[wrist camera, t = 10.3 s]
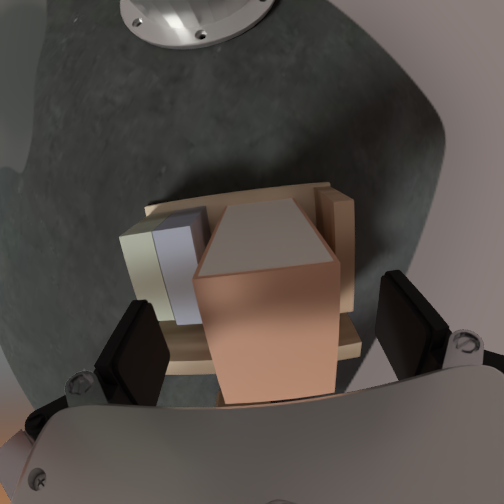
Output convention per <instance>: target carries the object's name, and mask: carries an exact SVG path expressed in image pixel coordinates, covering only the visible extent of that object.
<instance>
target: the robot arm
mask: <svg viewBox="0 0 504 504" xmlns="http://www.w3.org/2000/svg"><path fill="white" fill-rule="evenodd" d="M261 1H265V2H261ZM274 2H275V0H120V11H121V16H122V18H123V20H124V23H125V24H126V26H127V27H128V28H129V29H130V30H131V32H133V33H134V34H135V35H136V36H138V37H139V38H140V39H142V40H144V41H146V42H148V43H149V44H152V45H156V46H159V47H162V48H170V49H196V48H202V47H208V46H212V45H215V44H219V43H222V42H225V41H227V40H230V39H232V38H234V37H237V36H239V35H241V34H242V33H244V32H245V31H247V30H249V29H250V28H252V27H253V26H254V25H256V24H257V23H258V22H259V21H260V20H262V19H263V18H264V16H265V15H266V14H267V13H268V12H269V10H270V9H271V8H272V6H273V4H274ZM202 36H205V38H204V39H202V40H200V38H201V37H202ZM375 334H376V337H377V339H378V341H379V342H380V344H381V346H382V348H383V350H384V352H385V354H386V356H387V358H388V360H389V362H390V364H391V366H392V368H393V370H394V372H395V374H396V376H397V378H398V380H399V381H396V382H392V383H388V384H384V385H380V386H375V387H371V388H366V389H362V390H358V391H352V392H347V393H342V394H337V395H331V396H325V397H319V398H312V399H306V400H298V401H290V402H282V403H272V404H261V405H248V406H230V407H158V406H156V404H157V401H158V397H159V394H160V391H161V387H162V384H163V381H164V377H165V374H166V371H167V367H168V364H169V361H170V351H169V348H168V346H167V343H166V341H165V338H164V335H163V333H162V330H161V327H160V325H159V322H158V319H157V316H156V314H155V311H154V308H153V305H152V303H148V301H147V300H146V299H144V300H133V301H132V302H131V304H130V305H129V307H128V309H127V310H126V312H125V314H124V315H123V317H122V319H121V320H120V322H119V323H118V325H117V327H116V329H115V330H114V332H113V334H112V335H111V337H110V339H109V340H108V342H107V344H106V346H105V347H104V349H103V351H102V353H101V354H100V356H99V358H98V360H97V362H96V363H95V365H94V366H95V368H96V369H95V370H94V372H91V371H81V372H78V373H76V374H74V375H72V376H71V377H70V378H69V379H68V381H67V382H66V384H65V395H64V396H63V397H61V398H59V399H57V400H55V401H53V402H51V403H49V404H47V405H45V406H43V407H41V408H39V409H37V410H35V411H34V412H33V413H31V414H30V415H29V417H28V418H27V420H26V422H25V431H22V429H21V430H20V431H18V432H17V433H16V434H15V435H14V436H12V437H11V438H10V439H9V440H8V441H7V442H6V443H4V444H3V445H2V446H1V447H0V482H1V484H2V486H3V488H4V490H5V491H6V493H7V495H8V497H9V498H10V500H11V504H504V355H500V354H497V353H493V352H490V351H486V350H484V343H483V340H482V338H481V337H480V336H479V335H478V334H476V333H475V332H472V331H470V330H464V329H463V330H457V331H455V332H453V333H452V332H451V331H450V329H449V326H448V325H447V323H446V322H445V321H444V320H443V318H442V317H441V316H440V315H439V314H438V312H437V311H436V310H435V309H434V308H433V307H432V305H431V304H430V303H429V302H428V301H427V300H426V298H425V297H424V296H423V295H422V294H421V293H420V292H419V291H418V289H417V288H416V287H415V286H414V285H413V284H412V283H411V282H410V281H409V280H408V278H407V277H406V276H405V275H404V274H403V273H402V272H401V271H400V270H393V271H387V272H386V273H385V275H384V276H382V277H381V284H380V294H379V302H378V311H377V318H376V325H375Z"/></svg>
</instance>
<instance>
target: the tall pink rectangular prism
mask: <svg viewBox="0 0 504 504" xmlns="http://www.w3.org/2000/svg"><path fill="white" fill-rule="evenodd" d="M192 283H193V287H194V291H195V295H196V300H197V304H198V308H199V312H200V316H201V320H202V323H203V327H204V331H205V335H206V339H207V342H208V346H209V350H210V353H211V357H212V360H213V364H214V367H215V371H216V374H217V378H218V381H219V384H220V388H221V391H222V394H223V397H224V401H225V404H234V403H252V402H265V401H276V400H285V399H294V398H302V397H309V396H316V395H322V394H328V393H334V392H335V381H336V370H337V356H338V340H339V320H340V261H339V260H338V258H337V257H336V255H335V254H334V253H333V251H332V250H331V248H330V247H329V245H328V244H327V243H326V241H325V240H324V238H323V237H322V236H321V234H320V233H319V231H318V230H317V229H316V227H315V226H314V224H313V223H312V222H311V220H310V219H309V218H308V216H307V215H306V213H305V212H304V211H303V209H302V208H301V207H300V205H299V204H298V203H297V201H296V200H295V199H294V198H288V199H279V200H270V201H261V202H252V203H244V204H236V205H229V206H225V208H224V210H223V212H222V215H221V217H220V219H219V221H218V223H217V225H216V227H215V229H214V232H213V234H212V236H211V238H210V240H209V242H208V245H207V247H206V249H205V251H204V253H203V255H202V258H201V260H200V262H199V264H198V267H197V269H196V271H195V273H194V276H193V278H192Z"/></svg>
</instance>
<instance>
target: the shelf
mask: <svg viewBox="0 0 504 504" xmlns="http://www.w3.org/2000/svg"><path fill="white" fill-rule="evenodd" d="M288 198H294V199H295V200H296V201H297V203H298V204H299V205H300V207H301V208H302V209H303V211H304V212H305V213H306V215H307V216H308V218H309V219H310V220H311V222H312V223H313V224H314V226H315V227H316V229H317V230H318V231H319V233H320V234H321V236H322V237H323V238H324V240H325V241H326V243H327V244H328V245H329V247H330V248H331V250H332V251H333V253H334V254H335V255H336V257H337V258H338V260H339V261H340V320H339V340H338V356H337V361H338V360H344V359H349V358H354V357H360V353H361V345H362V342H361V340H360V337H359V335H358V333H357V331H356V329H355V327H354V325H353V323H352V321H351V319H350V317H349V315H348V313H347V312H351V311H353V304H354V279H355V215H354V200H353V199H351V198H350V197H348V196H346V195H345V194H343V193H341V192H339V191H338V190H336V189H334V188H332V187H330V182H319V183H308V184H297V185H287V186H278V187H269V188H261V189H252V190H244V191H237V192H229V193H222V194H215V195H208V196H202V197H195V198H189V199H183V200H177V201H171V202H165V203H159V204H154V205H148V206H146V207H145V212H146V216H147V217H145V218H144V219H142V220H141V221H140V222H138V223H137V224H135V225H134V226H133V227H131V228H130V229H129V230H127V231H126V232H125V233H123V234H122V235H121V236H119V239H120V243H121V247H122V250H123V254H124V258H125V261H126V265H127V268H128V271H129V275H130V278H131V281H132V285H133V288H134V291H135V294H136V297H137V300H144V299H146V300H147V301H148V303H152V305H153V308H154V311H155V314H156V316H157V319H158V321H160V323H159V325H160V327H161V330H162V333H163V335H164V338H165V341H166V343H167V346H168V348H169V351H170V361H169V364H168V367H167V371H166V374H165V375H188V374H216V371H215V367H214V364H213V360H212V357H211V353H210V350H209V346H208V342H207V339H206V335H205V331H204V327H203V323H202V320H201V316H200V312H199V308H198V304H197V300H196V295H195V291H194V287H193V283H192V278H193V276H194V273H195V271H196V269H197V267H198V264H199V262H200V260H201V258H202V255H203V253H204V251H205V249H206V247H207V245H208V242H209V240H210V238H211V236H212V234H213V232H214V229H215V227H216V225H217V223H218V221H219V219H220V217H221V215H222V212H223V210H224V208H225V206H229V205H236V204H244V203H252V202H261V201H270V200H279V199H288Z"/></svg>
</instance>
